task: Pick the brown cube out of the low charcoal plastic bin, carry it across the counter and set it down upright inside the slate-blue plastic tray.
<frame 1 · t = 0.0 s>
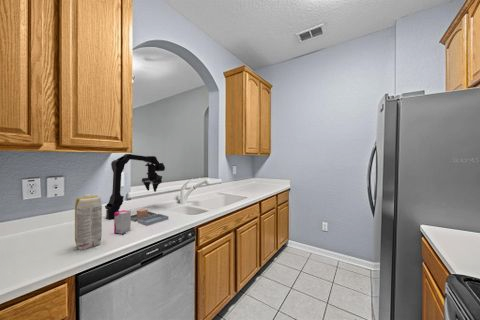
hand: (151, 191, 153), 15 cm above the countertop, fingers open, 9 cm apart
supplement box: (122, 232, 106), on the countertop
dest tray: (153, 221, 124), on the countertop
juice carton: (88, 246, 90), on the countertop
brown cube: (142, 217, 131), resting on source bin
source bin: (142, 218, 131), on the countertop
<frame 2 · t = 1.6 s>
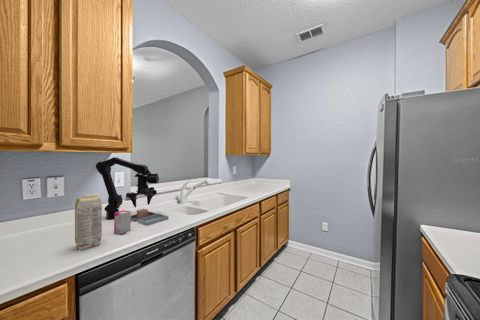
hand: (142, 206, 131), 8 cm above the countertop, fingers open, 9 cm apart
nothing on the countertop moved.
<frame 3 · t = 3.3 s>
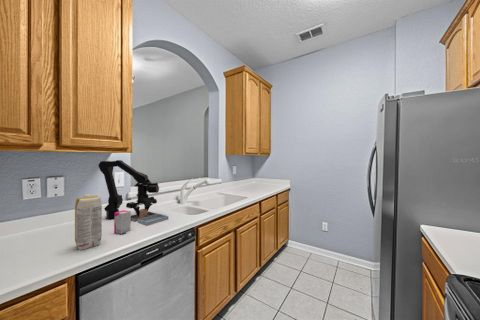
hand: (142, 215, 131), 2 cm above the countertop, fingers closed on brown cube, 5 cm apart
brown cube: (142, 217, 131), resting on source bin, touching gripper
everything else where it was.
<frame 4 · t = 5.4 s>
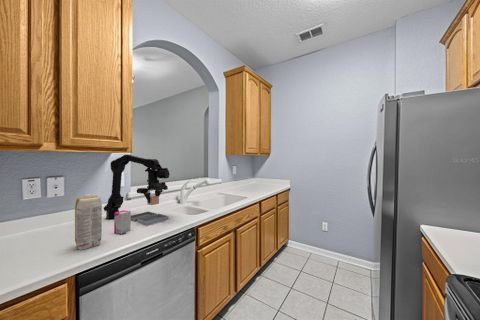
hand: (153, 202, 125), 12 cm above the countertop, fingers closed on brown cube, 5 cm apart
brown cube: (153, 204, 125), point 11 cm above the countertop, touching gripper
everything else where it was.
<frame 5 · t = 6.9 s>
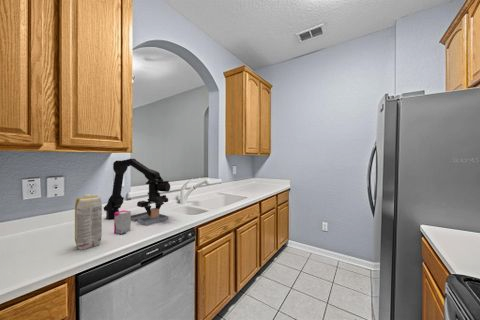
hand: (153, 215, 124), 4 cm above the countertop, fingers closed on brown cube, 5 cm apart
brown cube: (153, 216, 124), point 3 cm above the countertop, touching gripper
everything else where it was.
when the fingers open (3 cm above the countertop, at t = 7.9 s): brown cube drops 2 cm, resting on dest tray.
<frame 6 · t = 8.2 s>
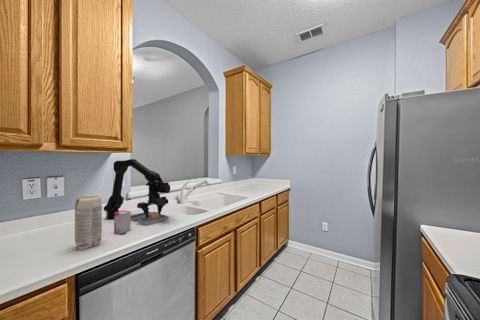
hand: (153, 216, 124), 3 cm above the countertop, fingers open, 8 cm apart
brown cube: (153, 220, 124), resting on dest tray
everything else where it was.
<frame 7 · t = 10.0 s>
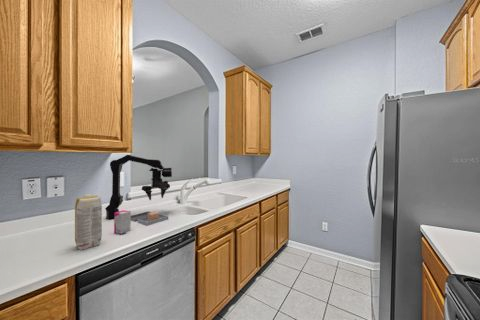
hand: (156, 198, 137), 12 cm above the countertop, fingers open, 9 cm apart
nothing on the countertop moved.
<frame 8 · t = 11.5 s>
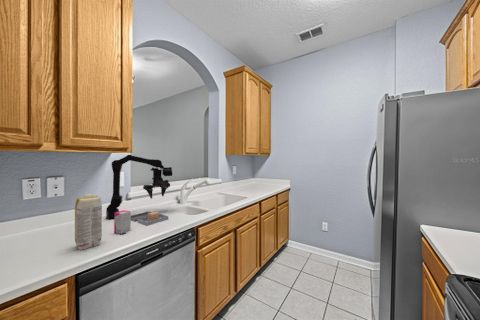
hand: (157, 197, 142), 12 cm above the countertop, fingers open, 9 cm apart
nothing on the countertop moved.
at the end: brown cube inside the target area on the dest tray (0.0 cm from its centre), point 0.5 cm above the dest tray's base; brown cube tilted 0°; the gripper is holding nothing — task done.
